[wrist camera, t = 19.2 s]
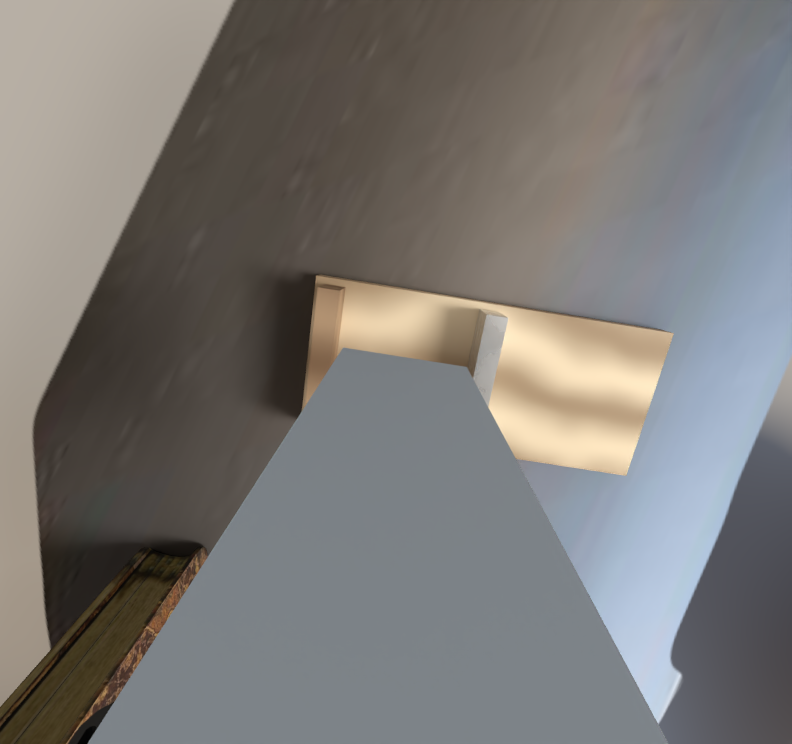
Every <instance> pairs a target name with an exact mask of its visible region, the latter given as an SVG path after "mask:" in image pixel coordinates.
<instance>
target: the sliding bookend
mask: <svg viewBox="0 0 792 744" xmlns="http://www.w3.org/2000/svg"><path fill="white" fill-rule="evenodd" d="M507 323H508V317H506V316H505V315H503V314H501V313H500V312H495V311H489V310H483V309H479V313H478V318H477V323H476V328H475V332H474V337H473V342H472V347H471V352H470V356H469V361H468V366H467V368H468V370H469V372H470V374H471V376H472V378H473V380H474V382H475V383H476V385H477V387H478V389H479V391H480V393H481V395H482V396H483V398H484V400H485V402H486V404H487V406H489V401H490V397H491V393H492V388H493V384H494V379H495V375H496V371H497V366H498V362H499V358H500V353H501V349H502V344H503V340H504V336H505V331H506V327H507Z"/></svg>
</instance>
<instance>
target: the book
mask: <svg viewBox="0 0 792 744" xmlns="http://www.w3.org/2000/svg"><path fill="white" fill-rule="evenodd" d="M207 558H208V556H207V551H206V548H205V547H199V548H197V549H196V550H195V551H194V553H193V554H192V555H190V556H184V557H176V556H169V555H165V554H162V553H159V552H157V551H154V550H152V549H151V548H143V549H141V550H140V551H139V552H138V553H137V554H135V555H134V556H133V558H132V559H131V560H130V561H129V562H128V563H127V564H126V565H125V566H124V568H123V569H122V570H121V571H120V572H119V573H118V574H117V575H116V577H115V578H114V579H113V580H112V581H111V582H110V583H109V585H108V586H107V587H106V588H105V589H104V590H103V591H102V592H101V594H100V595H99V596H98V597H97V598H96V599H95V600H94V602H93V603H92V604H91V605H90V606H89V607H88V608H87V609H86V611H85V612H84V613H83V614H82V615H81V616H80V617H79V618H78V620H77V621H76V622H75V623H74V624H73V625H72V626H71V628H70V629H69V630H68V631H67V632H66V633H65V634H64V635H63V637H62V638H61V639H60V640H59V641H58V642H57V643H56V645H55V646H54V647H53V648H52V649H51V650H50V651H49V652H48V654H47V655H46V656H45V657H44V658H43V659H42V660H41V662H40V663H39V664H38V665H37V666H36V667H35V668H34V669H33V671H32V672H31V673H30V674H29V675H28V677H26V679H25V680H24V681H23V682H22V683H21V684H20V685H19V686H18V688H17V689H16V690H15V691H14V692H13V693H12V694H11V695H10V697H9V698H8V699H7V700H6V701H5V702H4V703H3V705H2V706H1V707H0V744H68V743H69V742H70V740H71V739H72V737H73V736H74V734H75V733H76V731H77V730H78V728H79V727H80V726H81V725H82V724H83V723H84V722H85V721H86V720H87V719H89V718H90V717H91V716H92V715H93V714H94V713H95V712H97V711H98V710H100V709H101V708H103V707H105V706H107V705H109V704H111V703H113V702H115V700H116V699H117V697H118V696H119V694H120V692H121V691H122V689H123V688H124V686H125V685H126V683H127V682H128V680H129V678H130V677H131V675H132V674H133V672H134V671H135V669H136V668H137V666H138V665H139V663H140V661H141V660H142V658H143V657H144V655H145V654H146V652H147V651H148V649H149V647H150V646H151V644H152V643H153V641H154V640H155V638H156V637H157V635H158V634H159V632H160V630H161V629H162V627H163V626H164V624H165V623H166V621H167V620H168V618H169V617H170V615H171V613H172V612H173V610H174V609H175V607H176V606H177V604H178V603H179V601H180V599H181V598H182V596H183V595H184V593H185V592H186V590H187V589H188V587H189V586H190V584H191V582H192V581H193V579H194V578H195V576H196V575H197V573H198V572H199V570H200V568H201V567H202V565H203V564H204V562H205V561H206V559H207Z"/></svg>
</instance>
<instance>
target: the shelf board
mask: <svg viewBox="0 0 792 744" xmlns="http://www.w3.org/2000/svg"><path fill="white" fill-rule="evenodd" d="M479 309H483V310H489V311H495V312H500V313H501V314H503V315H505V316H506V317H508V323H507V327H506V331H505V336H504V340H503V344H502V349H501V353H500V358H499V362H498V366H497V371H496V375H495V379H494V384H493V388H492V393H491V397H490V401H489V406H488V408H489V410H490V411H491V413H492V415H493V417H494V419H495V421H496V423H497V424H498V426H499V428H500V430H501V432H502V434H503V436H504V438H505V439H506V441H507V443H508V445H509V447H510V449H511V451H512V452H513V454H514V456H515V458H516V459H521V460H528V461H534V462H541V463H547V464H554V465H560V466H567V467H573V468H580V469H586V470H593V471H599V472H606V473H612V474H619V475H625V476H626V475H627V472H628V469H629V466H630V463H631V460H632V457H633V454H634V451H635V448H636V445H637V442H638V439H639V436H640V433H641V430H642V427H643V424H644V421H645V418H646V415H647V412H648V409H649V406H650V403H651V400H652V397H653V394H654V391H655V388H656V385H657V382H658V379H659V376H660V373H661V370H662V367H663V364H664V361H665V358H666V355H667V352H668V349H669V346H670V343H671V340H672V337H673V334H674V333H671V332H667V331H664V330H660V329H653V328H647V327H641V326H635V325H629V324H622V323H616V322H610V321H604V320H598V319H592V318H585V317H579V316H573V315H567V314H561V313H554V312H548V311H542V310H536V309H530V308H524V307H517V306H511V305H505V304H499V303H493V302H486V301H480V300H474V299H468V298H462V297H456V296H449V295H443V294H437V293H431V292H425V291H419V290H412V289H406V288H400V287H394V286H388V285H381V284H375V283H369V282H363V281H357V280H351V279H344V278H338V277H332V276H326V275H316V282H315V291H314V301H313V310H312V320H311V329H310V339H309V348H308V358H307V367H306V377H305V386H304V396H303V405H302V410H303V409H304V407H305V406H306V404H307V403H308V401H309V400H310V398H311V396H312V395H313V393H314V392H315V390H316V389H317V387H318V386H319V384H320V383H321V381H322V379H323V378H324V376H325V375H326V373H327V372H328V370H329V369H330V367H331V365H332V364H333V362H334V361H335V359H336V358H337V356H338V355H339V353H340V352H341V350H342V348H349V349H356V350H362V351H369V352H375V353H381V354H388V355H394V356H400V357H407V358H413V359H419V360H426V361H432V362H439V363H445V364H451V365H458V366H464V367H467V366H468V361H469V356H470V352H471V347H472V342H473V337H474V332H475V328H476V323H477V318H478V313H479Z"/></svg>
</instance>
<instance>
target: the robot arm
mask: <svg viewBox="0 0 792 744" xmlns="http://www.w3.org/2000/svg"><path fill="white" fill-rule="evenodd" d="M113 703H114V702H113ZM113 703H111V704H109V705H107V706H105V707H103V708H101V709H100V710H98V711H97V712H95V713H94V714H93V715H92V716H91V717H90V718H89V719H87V720H86V721H85V722H84V723H83V724H82V725H81V726H80V727H79V728H78V730H77V731H76V733H75V734H74V736H73V737H72V739H71V740H70V742H69V743H68V744H88V742H89V740H90V739H91V737H92V736H93V734H94V733H95V731H96V730H97V728H98V727H99V725H100V723H101V722H102V720H103V719H104V717H105V716H106V714H107V713H108V711H109V709H110V708H111V706H112V705H113Z"/></svg>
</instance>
